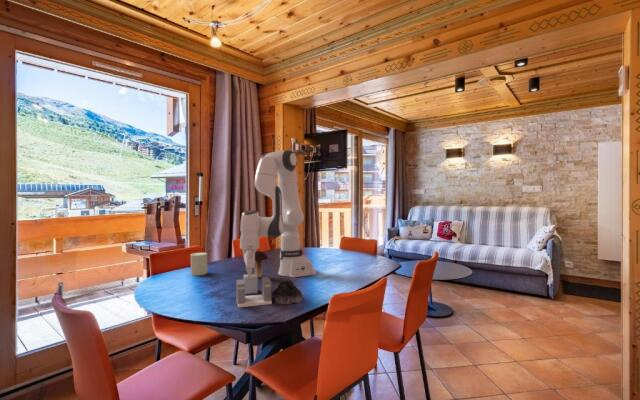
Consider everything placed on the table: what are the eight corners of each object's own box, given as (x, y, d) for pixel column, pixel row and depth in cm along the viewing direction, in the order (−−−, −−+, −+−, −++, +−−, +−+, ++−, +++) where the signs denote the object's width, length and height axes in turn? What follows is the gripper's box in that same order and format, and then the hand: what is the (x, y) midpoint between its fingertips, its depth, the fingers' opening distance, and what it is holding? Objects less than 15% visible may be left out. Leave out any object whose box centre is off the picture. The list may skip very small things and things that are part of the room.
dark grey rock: (288, 294, 151) (286, 273, 150) (310, 298, 142) (307, 275, 142) (267, 304, 140) (264, 282, 140) (289, 309, 131) (286, 285, 131)
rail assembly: (268, 295, 146) (267, 276, 146) (271, 303, 136) (271, 282, 136) (236, 299, 142) (236, 278, 142) (237, 307, 132) (237, 285, 131)
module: (256, 289, 156) (256, 273, 155) (257, 293, 151) (257, 275, 151) (243, 291, 154) (243, 274, 154) (244, 294, 149) (244, 277, 149)
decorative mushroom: (264, 280, 172) (264, 252, 172) (245, 279, 174) (244, 252, 173) (270, 275, 183) (270, 249, 182) (252, 274, 184) (252, 248, 184)
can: (191, 272, 190) (190, 252, 190) (207, 271, 193) (207, 251, 193) (189, 276, 182) (189, 255, 181) (207, 274, 184) (206, 254, 184)
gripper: (258, 248, 143) (257, 279, 143) (254, 241, 162) (253, 268, 162) (244, 248, 141) (243, 279, 141) (241, 241, 160) (240, 269, 160)
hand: (248, 273), depth 152 cm, fingers open, 8 cm apart
